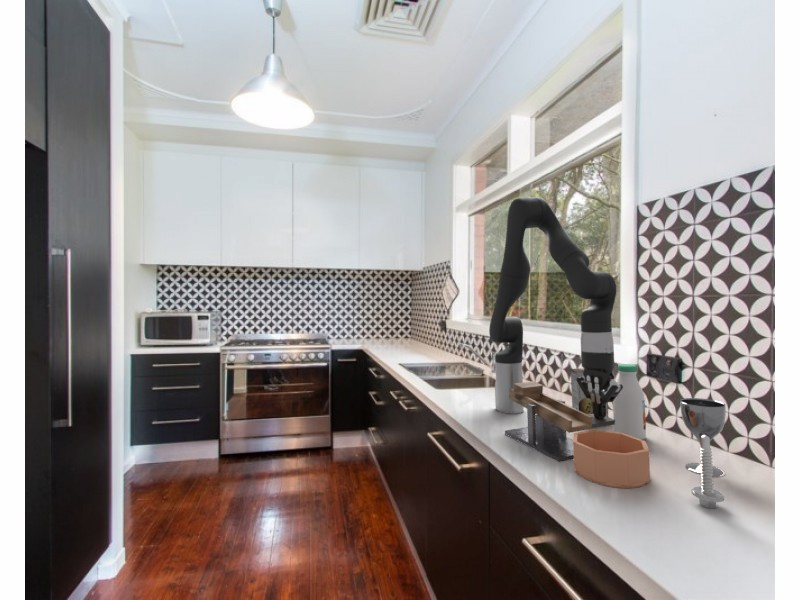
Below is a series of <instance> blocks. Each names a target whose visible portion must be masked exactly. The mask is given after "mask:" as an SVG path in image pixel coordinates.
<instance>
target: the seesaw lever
mask: <svg viewBox="0 0 800 600" xmlns="http://www.w3.org/2000/svg"><path fill="white" fill-rule="evenodd" d="M543 387H544V385H543V384H541V383H538V382H536V381H525V382H523V383H515V384H514V389H509V399H511V400H513V401H514V402H516V403H518V404H520V405H521V406H523V407H524V408H525V409H527V404H532V405H535V415H539V416H541V417H542V418H544V419H546V420H548V421H549V422H551V423H553V424H555V425H556V426H558V427H560V428H562V429H563V430H565V431H566V433H577V432H583V431H589V430H594V429H598V428H603V427H609V426H614V425H615V420H614V418H613V417H612V418H611V417H610V416H608V417H607V416H605V418H601V419H600V418H596V417H594V414H585V413H583V412H581V411H579V410H577V409H575V408H573V407H572V405H571V406H570V405H569V404H566V403H565V404H564V403H562V402H560V401H558V400H559V399H556V398H554V397H552V396H550V395H547V394H545V393H543V391H544V389H543Z"/></svg>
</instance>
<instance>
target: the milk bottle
mask: <svg viewBox="0 0 800 600" xmlns="http://www.w3.org/2000/svg"><path fill="white" fill-rule="evenodd" d="M617 370H618V379H617V381H616V382H617V383H618V384H621V385H622V386H623V389H622V390H621V391H620V393H619V394H618V395H617V397H616V398H615V399H614V401H613V402H612V404H613V405H612V408H613V409H612V410H613V411H612V412H613V419H614V420H615V425H613V432H619V433H624V434H626V435H629V436H632V437H635V438H638V439H641V440H644V441H645V439H646V438H647V424H646V423H647V422H646V401H645V394H644V391H643V388H642V387H641V384H640V383H639V380H638V378H637V374H638V367H637V365H636V364H630V363H620V364H618V365H617Z"/></svg>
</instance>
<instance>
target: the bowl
mask: <svg viewBox="0 0 800 600" xmlns="http://www.w3.org/2000/svg"><path fill="white" fill-rule="evenodd" d="M572 437H573V438H572V440H573V451H574V459H573V470H574V471H575V473H576V474H577V475H578V476H580V477H581V478H583V479H585V480H587V482H588V481H589V482H591V483H594V484H598V485H600V486H604V487H608V488H609V487H610V488H614V489H615V488H617V489H636V488H640V487H643V486H646V485H647V484H648V483H649V482H650V481H651V468H650V464H651V463H650V450H649V447H648V445H647V442H646V441H645V439H644V440H641V439H638V438H635V437H632V436H629V435H626V434H624V433H619V432H614V431H610V430H609V431H608V430H598V429H589V430H583V431H578V432H573V436H572Z"/></svg>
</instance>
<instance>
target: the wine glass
mask: <svg viewBox="0 0 800 600" xmlns="http://www.w3.org/2000/svg"><path fill="white" fill-rule="evenodd" d="M679 404H680V405H679V406H680V413H681V418H682V421H683V424H684V426H685V427H686V428H687V430H688V431H689V432H690V433H691V434H692V435H693V436H694V437H695V438H696V439H697V441H698V443H699V445H700V447H701V436H703V435H706V436H708V437H709V438H710V442H711V441H712V440H713V439H714V438H715V437H717V436H718V435H719V434H721V432H722V431H723V429H724V426H725V423H726V418H727V417H726V413H727V411H726V410H727V409H726V404H725V403H723V402H722V401H718V400H712V399H707V398H697V397H685V398H681V399H680V403H679ZM684 467H685V469H686V470H687V471H689V472H691V473H694V474H697V475H700V476H702V475H701V473H702V472H701V471H700V470H701V468H700V467H701V465H700V464H699V462H690V464H689V463H686V464H685V465H684ZM712 467H713V469H712V471H713V472H712V474H713V478H715V477H714V476H717V477H716V478H719V477H718V476H720V475H722V474H723V472H722V471H721V470H720V469H721V468H720V469H718V468H719V467H717V466H714V465H713V466H712ZM716 467H717V468H716Z"/></svg>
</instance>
